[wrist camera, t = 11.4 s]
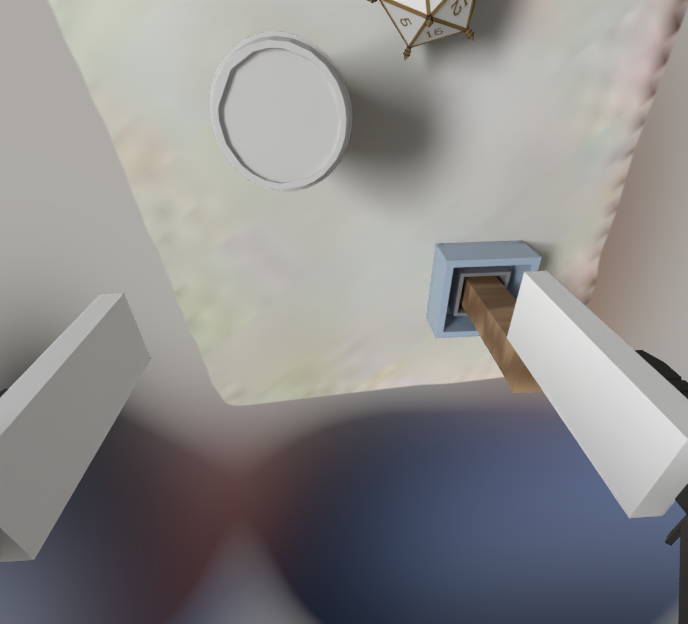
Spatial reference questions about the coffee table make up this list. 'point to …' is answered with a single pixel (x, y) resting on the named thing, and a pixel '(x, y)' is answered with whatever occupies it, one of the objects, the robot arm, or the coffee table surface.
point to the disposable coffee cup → (280, 111)
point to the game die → (429, 19)
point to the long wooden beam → (496, 327)
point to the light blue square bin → (467, 262)
